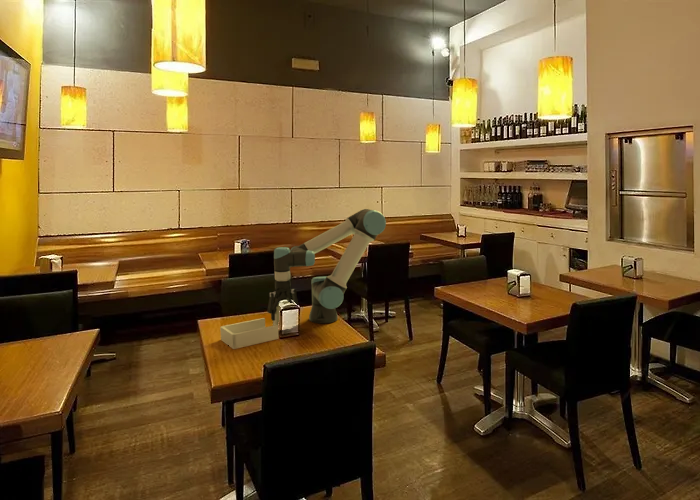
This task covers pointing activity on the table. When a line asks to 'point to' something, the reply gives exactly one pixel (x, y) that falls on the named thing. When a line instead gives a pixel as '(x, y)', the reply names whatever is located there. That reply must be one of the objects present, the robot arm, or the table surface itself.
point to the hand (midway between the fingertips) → (283, 324)
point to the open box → (248, 333)
